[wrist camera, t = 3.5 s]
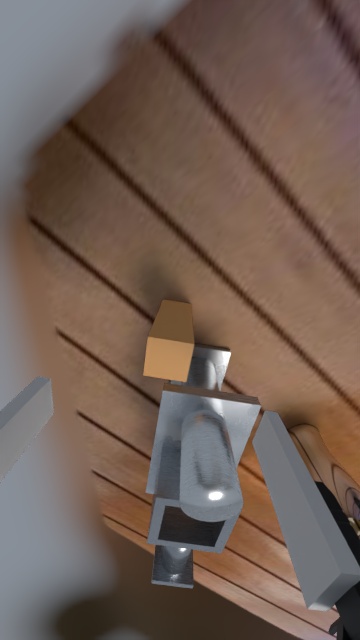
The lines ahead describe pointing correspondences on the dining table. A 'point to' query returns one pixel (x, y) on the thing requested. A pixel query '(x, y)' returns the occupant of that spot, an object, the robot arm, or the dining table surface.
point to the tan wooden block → (170, 342)
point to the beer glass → (328, 471)
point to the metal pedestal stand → (205, 436)
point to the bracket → (179, 528)
